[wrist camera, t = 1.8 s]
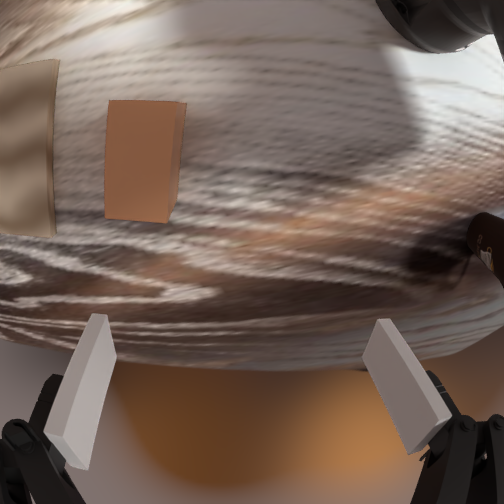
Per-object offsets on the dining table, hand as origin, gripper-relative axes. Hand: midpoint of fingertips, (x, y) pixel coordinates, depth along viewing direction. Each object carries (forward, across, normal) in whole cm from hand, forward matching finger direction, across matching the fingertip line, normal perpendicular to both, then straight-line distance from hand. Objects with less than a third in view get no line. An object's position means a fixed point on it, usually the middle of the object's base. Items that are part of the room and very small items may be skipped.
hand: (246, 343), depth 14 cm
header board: (+20, -30, +7) cm, 37 cm away
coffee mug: (+21, +38, -2) cm, 43 cm away
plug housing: (+21, -8, +6) cm, 23 cm away
